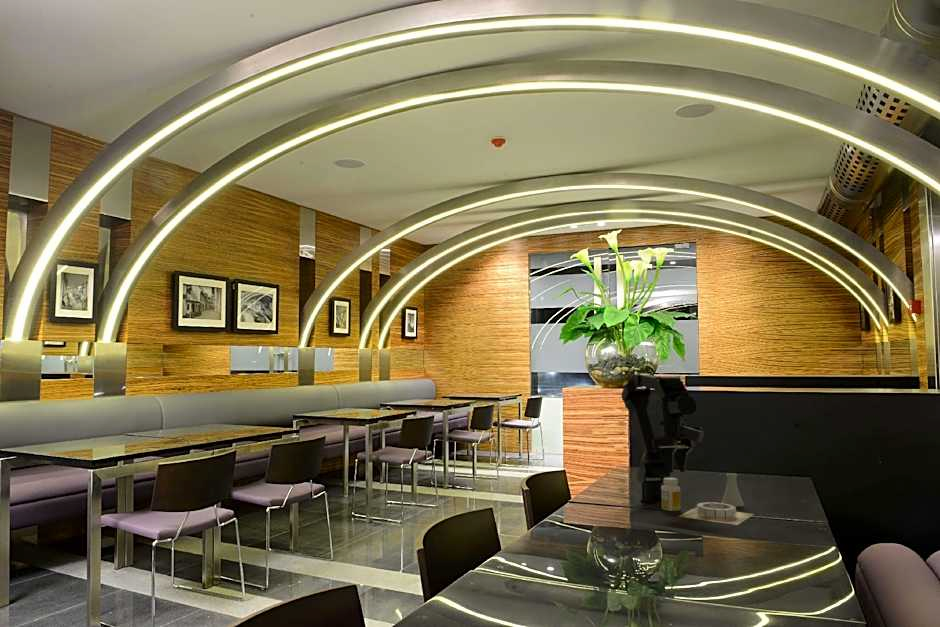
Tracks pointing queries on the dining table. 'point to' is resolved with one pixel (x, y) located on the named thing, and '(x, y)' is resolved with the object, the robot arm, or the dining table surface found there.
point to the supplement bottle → (671, 495)
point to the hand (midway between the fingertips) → (676, 472)
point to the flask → (732, 492)
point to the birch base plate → (737, 520)
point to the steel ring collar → (716, 510)
